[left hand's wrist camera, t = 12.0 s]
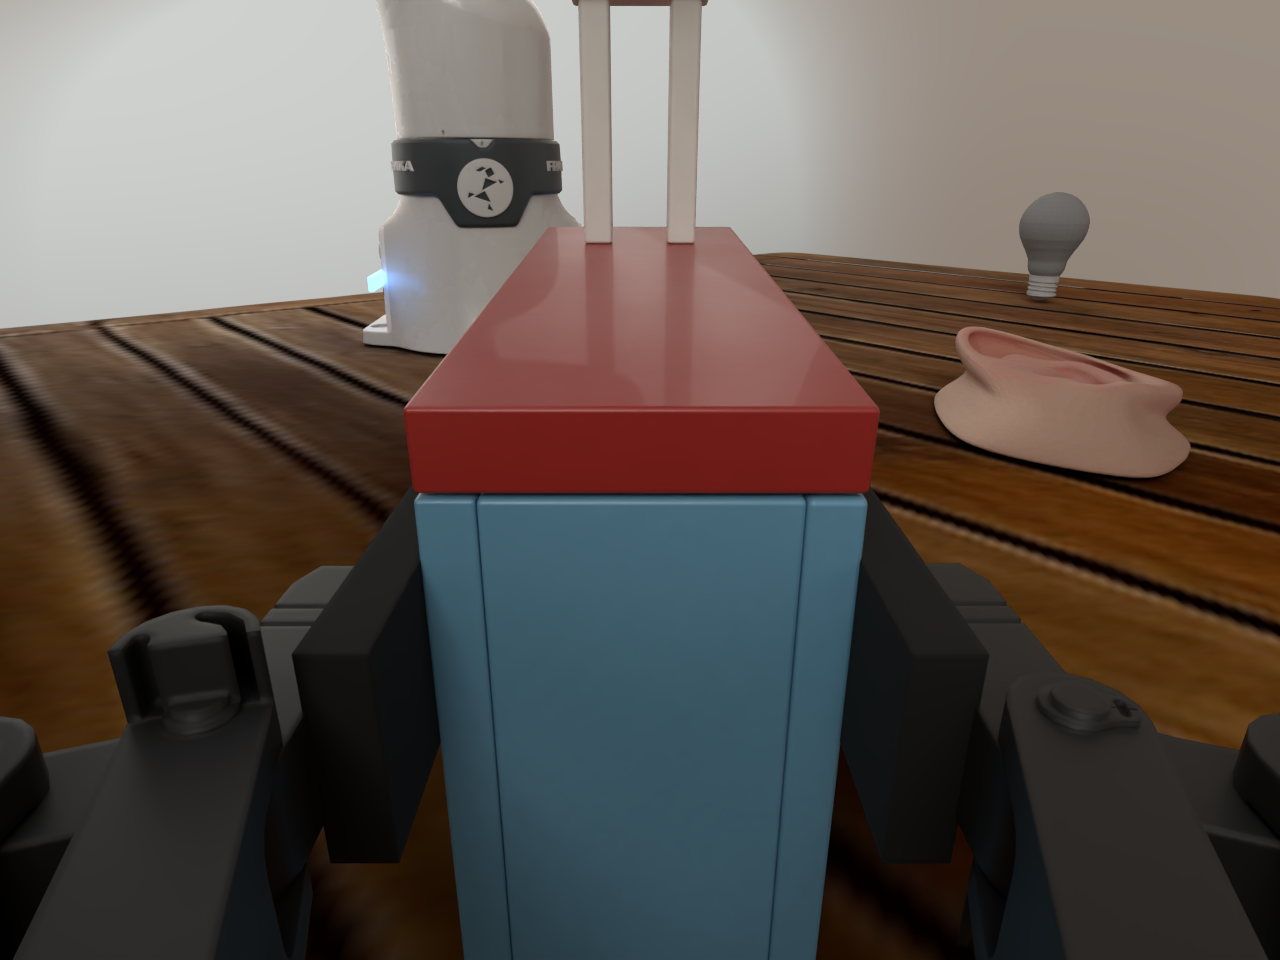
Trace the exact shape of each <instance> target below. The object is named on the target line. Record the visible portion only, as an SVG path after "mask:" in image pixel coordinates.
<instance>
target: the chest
mask: <svg viewBox="0 0 1280 960" xmlns="http://www.w3.org/2000/svg"><path fill="white" fill-rule="evenodd" d="M867 507H868V504H867V501H866V499H865V497H864V496H863V494H862V493H419V495H418V496H417V498H416V499H415V501H414V508H415V517H416V526H417V535H418V544H419V553H420V560H421V569H422V578H423V587H424V596H425V605H426V614H427V623H428V632H429V641H430V650H431V659H432V668H433V678H434V687H435V696H436V705H437V714H438V723H439V732H440V741H441V742H440V743H441V752H442V761H443V771H444V780H445V789H446V798H447V807H448V816H449V825H450V834H451V843H452V852H453V861H454V870H455V879H456V888H457V897H458V906H459V915H460V924H461V933H462V942H463V952H464V960H816V952H817V943H818V934H819V926H820V917H821V908H822V899H823V891H824V882H825V873H826V864H827V856H828V847H829V838H830V830H831V821H832V812H833V803H834V795H835V786H836V777H837V769H838V760H839V751H840V736H841V727H842V718H843V710H844V701H845V692H846V683H847V674H848V665H849V656H850V647H851V639H852V630H853V621H854V612H855V603H856V594H857V585H858V576H859V568H860V560H861V558H862V550H863V542H864V533H865V524H866V516H867Z"/></svg>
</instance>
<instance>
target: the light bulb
mask: <svg viewBox="0 0 1280 960" xmlns="http://www.w3.org/2000/svg"><path fill="white" fill-rule="evenodd" d="M1089 224H1090V219H1089V214H1088V211H1087V209H1086V207H1085V205H1084V204H1083V203H1082V201H1081V200H1079V199H1078V198H1077V197H1075V196H1073V195H1070V194H1067V193H1062V192H1056V193H1051V194H1047V195H1044V196H1042V197H1040V198H1038V199H1037V200H1035V201H1034V202H1033V203H1032V204H1031V205H1030V206H1029V207H1028V208H1027V209H1026V211H1025V212H1024V214H1023V216H1022V218H1021V220H1020V225H1019V233H1020V238H1021V241H1022V244H1023V246H1024V248H1025V251H1026V254H1027V257H1028V271H1029V273H1030V275H1029V276H1030V277H1029V280H1030V281H1031V282H1029V284H1030V286H1028V288H1029V290H1027V295H1029V296H1031V297H1032V298H1033V299H1035V300H1048V299H1050V298H1052V297H1054V296H1056V293H1055V291H1057V290H1055V288H1056V287H1058V286H1056V283H1058V281H1059V277H1060V275H1061V274H1062V272H1063V271H1064V269H1065V266H1066V263H1067V261H1068V259H1069V258H1070V256H1071V255H1072V254H1073V252H1074V251H1075V250H1076V249H1077V248H1078V246H1079V245H1080V244H1081V242H1082V241H1083V240H1084V238H1085V236H1086V234H1087V232H1088V228H1089Z"/></svg>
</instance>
